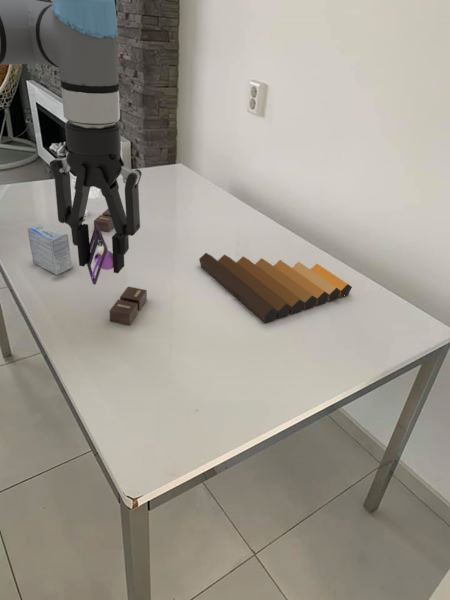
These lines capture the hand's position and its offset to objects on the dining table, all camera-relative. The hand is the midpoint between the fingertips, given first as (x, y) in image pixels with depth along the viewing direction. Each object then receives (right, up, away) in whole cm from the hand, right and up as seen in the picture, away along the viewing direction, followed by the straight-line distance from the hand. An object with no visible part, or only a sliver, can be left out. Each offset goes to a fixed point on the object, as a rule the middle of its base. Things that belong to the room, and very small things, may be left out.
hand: (102, 265), depth 76 cm
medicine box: (-18, +2, +24) cm, 30 cm away
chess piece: (-19, +18, +48) cm, 55 cm away
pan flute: (+32, -1, +28) cm, 42 cm away
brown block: (-10, +14, +44) cm, 48 cm away
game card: (0, -1, 0) cm, 1 cm away
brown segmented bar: (+2, -8, +13) cm, 15 cm away
